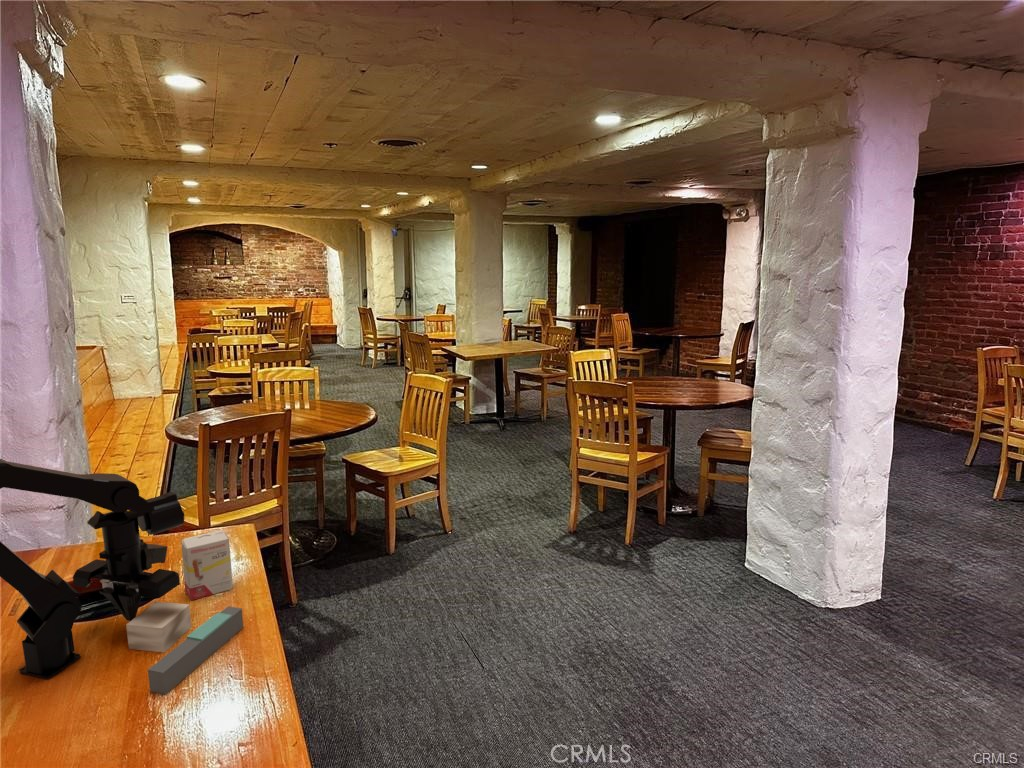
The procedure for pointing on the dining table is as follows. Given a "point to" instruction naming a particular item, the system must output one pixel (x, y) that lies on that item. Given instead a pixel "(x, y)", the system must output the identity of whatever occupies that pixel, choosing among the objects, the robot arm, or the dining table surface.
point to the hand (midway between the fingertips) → (131, 619)
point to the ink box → (206, 564)
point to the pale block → (158, 626)
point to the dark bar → (194, 650)
